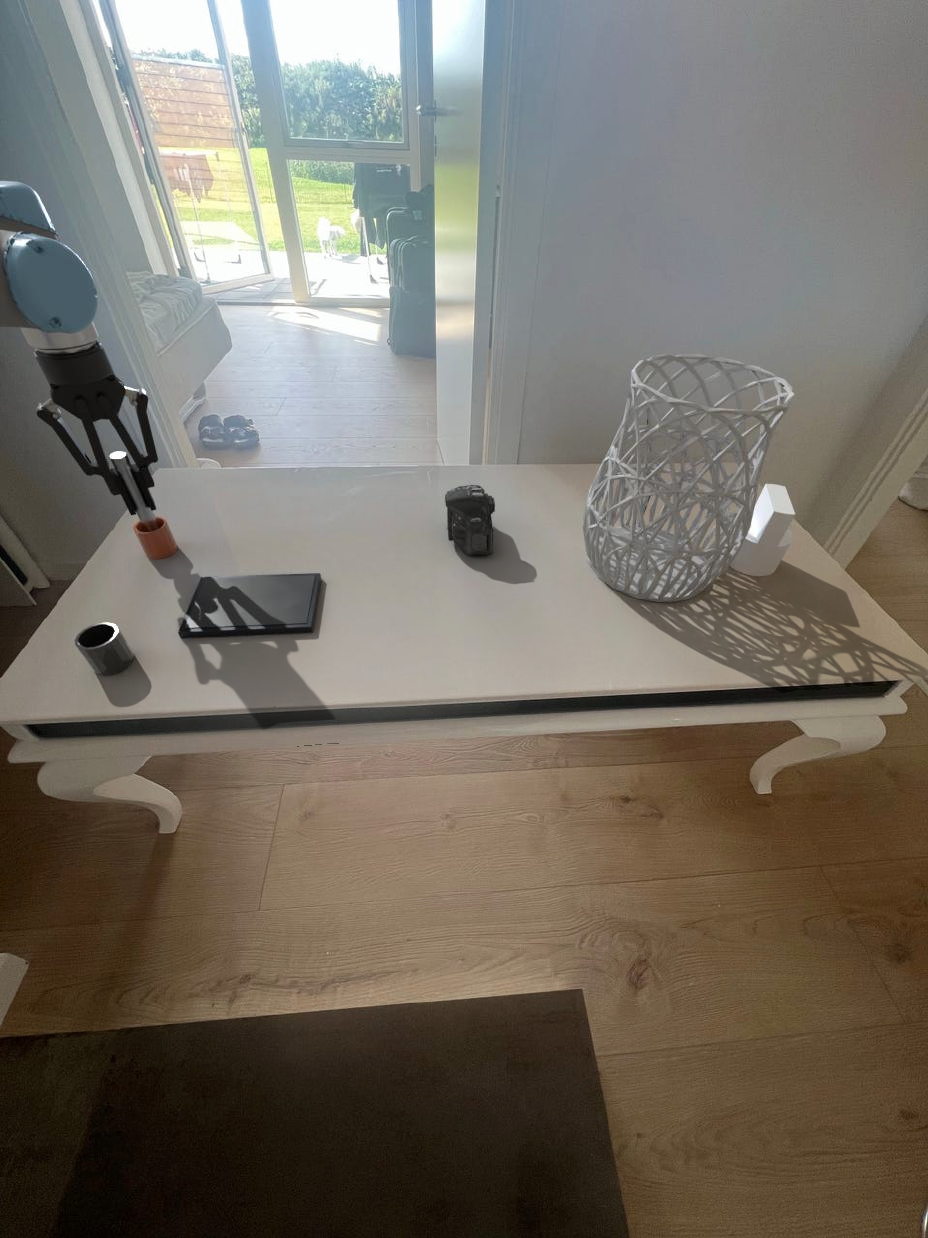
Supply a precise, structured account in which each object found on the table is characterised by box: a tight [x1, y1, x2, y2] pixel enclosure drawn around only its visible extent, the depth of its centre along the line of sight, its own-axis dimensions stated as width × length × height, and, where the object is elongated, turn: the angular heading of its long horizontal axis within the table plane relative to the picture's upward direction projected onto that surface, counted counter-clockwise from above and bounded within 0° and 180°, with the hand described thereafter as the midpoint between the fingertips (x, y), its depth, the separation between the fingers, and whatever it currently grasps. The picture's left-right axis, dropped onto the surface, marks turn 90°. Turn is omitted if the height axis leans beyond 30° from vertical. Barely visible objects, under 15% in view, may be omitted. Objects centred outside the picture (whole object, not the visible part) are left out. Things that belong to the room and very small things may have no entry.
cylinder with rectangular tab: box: [728, 483, 796, 577], centre depth 85 cm, size 9×9×12 cm
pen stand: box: [74, 621, 135, 677], centre depth 67 cm, size 5×5×5 cm
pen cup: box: [132, 516, 178, 560], centre depth 85 cm, size 5×5×5 cm
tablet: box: [177, 572, 322, 639], centre depth 77 cm, size 18×12×1 cm, turn 95°
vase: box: [582, 353, 795, 603], centre depth 78 cm, size 24×24×30 cm
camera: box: [444, 484, 496, 556], centre depth 88 cm, size 13×10×10 cm
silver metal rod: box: [108, 450, 160, 532], centre depth 80 cm, size 2×2×15 cm
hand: (142, 508), depth 81 cm, fingers closed on silver metal rod, 2 cm apart
